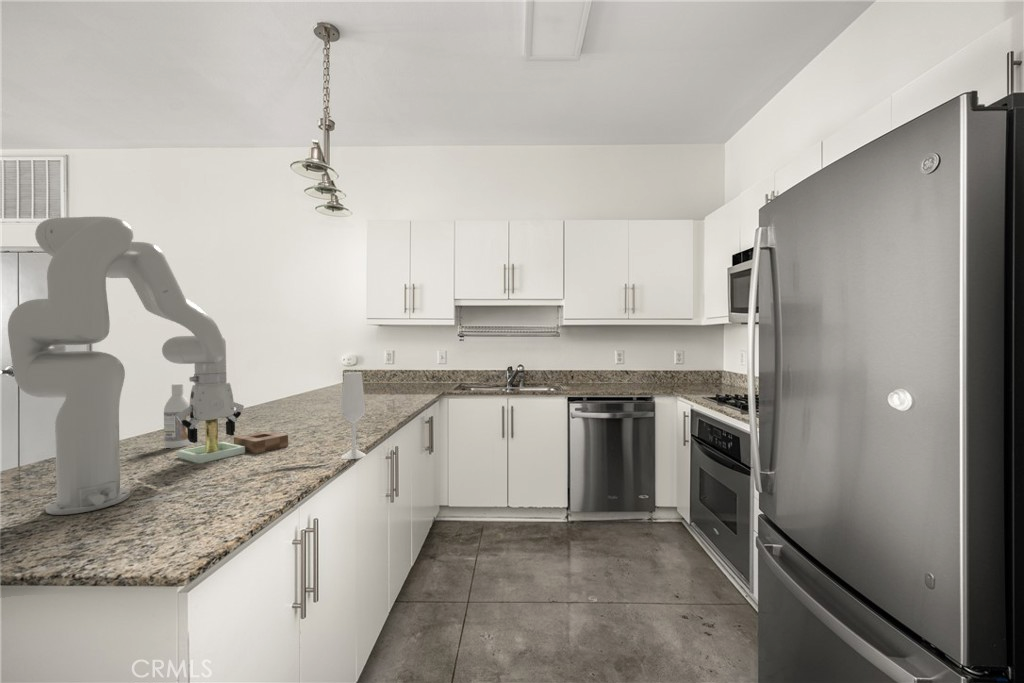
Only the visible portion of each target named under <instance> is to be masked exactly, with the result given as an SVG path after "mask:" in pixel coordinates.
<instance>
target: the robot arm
mask: <svg viewBox="0 0 1024 683" xmlns="http://www.w3.org/2000/svg"><path fill="white" fill-rule="evenodd" d="M34 236H35V239H36V242H37V244H38V245H39V247H40V248H41V249H42V250H43V251H44V252H45V253H46V254H48V255H49V256H51V257H52V258H51V259H50V261H49V264H48V266H47V267H48V268H47V271H46V272H47V273H46V281H47V298H35V299H31V300H26V301H25V302H22V303H20V304H19V305H17V306H16V307H15V308H14V309H13V310H12V312H11V314H10V315H9V318H8V322H7V335H8V336H7V337H8V343H9V350H10V357H11V358H10V359H11V364H12V372H13V376H14V379H15V382H16V384H17V386H18V387H19V389H20V390H21V391H22V392H24V393H25V394H26V395H28V396H32V397H36V398H53V399H54V398H57V399H58V398H59V399H60V398H62V399H63V398H65V400H64V401H63V403H62V405H61V407H60V408H59V410H58V413H57V415H56V418H55V422H54V424H55V427H54V428H55V431H54V432H55V467H56V468H55V469H56V470H55V471H56V472H55V473H56V476H55V478H56V480H55V481H56V499H55V500H53V501H51V502H49V503H47V505H45V512H46V513H47V514H49V515H55V516H65V515H75V514H81V513H82V514H83V513H86V512H93V511H97V510H101V509H104V508H107V507H111V506H114V505H117V504H120V503H121V502H124V501H126V500H127V499H129V497H131V491H130V489H128V488H126V487H121V456H120V455H121V453H120V452H121V449H120V443H121V442H120V402H121V395H122V390H123V388H124V387H123V386H124V382H125V378H126V376H125V375H126V371H125V370H126V369H125V367H124V364H123V362H121V360H120V359H119V358H117V357H116V356H114V355H112V354H110V353H107V352H103V351H96V350H95V351H94V350H80V351H79V350H71V351H69V350H68V351H67V350H66V349H67V348H66V346H78V345H79V346H80V345H84V346H85V345H93V344H97V343H101V342H102V341H104V340H105V339H106V338H108V336H109V333H110V329H111V328H110V327H111V323H110V314H109V303H108V295H107V282H106V280H107V278H109V279H128V280H129V282H130V284H131V285H132V287H133V288H134V291H135V292H136V294H137V296H138V298H139V300H140V302H141V303H142V306H143V308H145V310H146V311H147V312H149V313H150V314H152V315H155V316H158V317H160V318H163V319H166V320H169V321H170V322H174V323H176V324H179V325H180V326H182V327H184V328H185V329H187V330H188V331H189V332H191V333H192V334H193V335H179V336H173V337H171V338H169V339H167V340H166V341H165V342H164V343H163V345H162V347H161V352H162V355H163V357H164V358H165V360H167V361H168V362H171V363H173V364H179V365H180V364H181V365H182V364H184V365H186V364H187V365H189V364H193V365H194V374H193V376H189V379H188V381H189V382H190V383H191V382H193V385H192V387H191V390H190V396H189V403H190V404H189V407H188V408H186V409H184V410H183V411H181V412H179V413H178V414H176V417H177V419H178V420H179V421H180V423H181V424H182V425H184V426H185V427H186V428H187V431H188V440H189V442H192V444H196V443H197V442H198V428H196V426H197V425H198V424H199V423H200V422H205V421H206V420H213V419H218V420H219V419H226V420H227V421H226V422H225V434H226V435H227V436H230V437H232V436H233V437H234V436H235V432H236V423H237V420H238V418H239V417H240V416H241V415H242V412H243V410H244V407H245V405H243V404H240V403H238V402H235V401H234V394H233V391H232V385H231V383H230V382H227V344H226V343H227V342H226V339H225V338H224V337H223V334H222V333H221V330H220V328H219V326H218V325H217V323H216V322H215V320H214V319H213V318H212V317H211V316H210V315H209V314H207V313H206V312H205V311H204V310H203V309H202V308H200V307H199V306H197V305H196V304H195V303H194V302H191V300H189V299H187V298H186V296H185V295H184V293H183V291H182V289H181V286H180V285H179V283H178V280H177V279H176V277H175V275H174V273H173V270H172V269H171V266H170V265H169V264H170V263H169V262H168V260H167V259H166V256H165V254H164V252H163V251H162V249H160V248H159V247H158V246H157V245H155V244H154V243H153V244H152V243H150V242H144V241H134V232H133V229H132V227H131V226H130V224H128V223H127V222H126V221H124V220H122V219H120V218H116V217H112V216H111V217H109V216H80V217H79V216H73V217H66V216H64V217H53V218H48V219H46V220H45V219H44V220H43V221H41V222H40V223H39V224H38V225H37V226H36V229H35V234H34ZM187 414H189V416H190V418H191V419H190V420H189V421H187V420H186V419H185V415H187Z"/></svg>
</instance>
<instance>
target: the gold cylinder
mask: <svg viewBox="0 0 1024 683" xmlns="http://www.w3.org/2000/svg"><path fill="white" fill-rule="evenodd" d="M218 420H219V419H213V420H206V421H204V422H205V423H204V427H205V428H204V432H205V441H204V442H205V443H204V444H205V445H204V446H205V447H206V454H208V453H213V452H217V451H218V443H219V424H218V423H219V421H218Z"/></svg>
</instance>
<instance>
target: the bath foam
mask: <svg viewBox="0 0 1024 683" xmlns="http://www.w3.org/2000/svg"><path fill="white" fill-rule="evenodd" d="M189 404H190V400H188V399H187V397H186V396H185V395H184V383H171V396H170V397H169V398H168V400H167V401H166V403H165V406H164V408H163V435H164V436H163V437H164V438H163V442H164V448H165V447H166V448H171V449H176V448H183V447H188V446H191V444H193V443H192V442H189V440H188V431H187V428H186V427H185V426H184V425H182V424H181V423H180V421H179V420H178V419H177V417H176V414H178V413H179V412H181V411H183V410H184V409H186V408H188V407H189ZM185 419H186V420H187V421H189V420H190V419H191V418H190V416H189V414H187V415H185ZM166 448H165V449H166Z"/></svg>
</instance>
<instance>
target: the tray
mask: <svg viewBox="0 0 1024 683" xmlns="http://www.w3.org/2000/svg"><path fill="white" fill-rule="evenodd" d="M245 453H246V451H245V446H240V445H235V444H234V443H230V442H226V441H221V442H218V451H217V452H213V453H208V454H206V447H205V445H201V446H195V447H190V448H186V449H179V450H177V458H178V459H182V460H185V461H189V462H193V463H196V464H203V463H207V462H211V461H217V460H220V459H224V458H225V459H226V458H230V457H234V456H238V455H244V454H245Z"/></svg>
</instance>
